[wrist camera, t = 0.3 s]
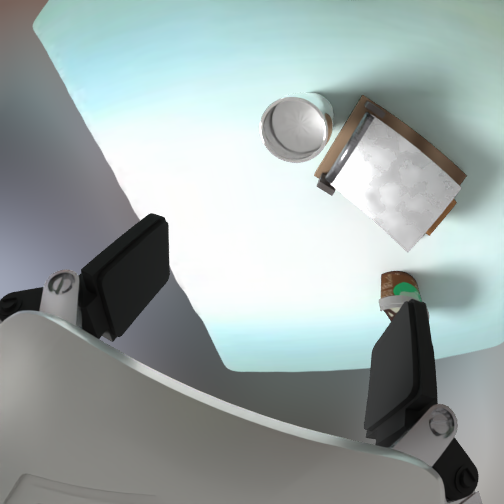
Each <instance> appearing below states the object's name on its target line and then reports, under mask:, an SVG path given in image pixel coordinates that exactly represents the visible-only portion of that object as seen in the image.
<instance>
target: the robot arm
mask: <svg viewBox="0 0 504 504" xmlns="http://www.w3.org/2000/svg"><path fill="white" fill-rule="evenodd" d="M81 272H82V273H81V274H80V275H79V276H78V275H77V273H75V272H74V271H71V270H61V271H57V272H55V273H53V274H52V275H51V276H49V277H48V279H47V280H46V282H45V284H44V287H41V288H35V289H29V290H23V291H18V292H12V293H9V294H7V295H6V296H4V297H3V298H2V299H1V300H0V504H482V501H481V498H480V494H479V491H478V492H475V488H476V486H477V483H478V471H477V468H476V467H475V465H474V464H473V462H472V461H471V459H470V458H469V457H468V455H467V454H466V453H465V451H464V450H463V448H462V447H461V446H460V444H459V443H458V442H457V440H456V439H455V438H454V436H455V434H456V432H457V427H458V424H457V419H456V416H455V414H454V412H453V411H452V410H451V409H450V408H449V407H448V406H446V405H443V404H438V403H437V383H436V370H435V359H434V350H433V345H432V341H431V333H430V326H429V320H428V313H427V307H426V304H425V303H424V302H421V301H418V300H415V299H411V300H409V302H408V301H405V302H404V303H403V305H402V306H401V308H400V309H399V311H398V312H397V314H396V315H395V317H394V318H393V320H392V321H391V323H390V324H389V326H388V327H387V329H386V330H385V332H384V333H383V334H382V336H381V337H380V339H379V340H378V341H377V343H376V344H375V346H374V348H373V350H372V357H371V370H370V381H369V391H368V400H367V407H366V415H365V422H364V429H365V430H367V434H366V438H371V439H376V444H375V445H373V444H368V443H362V442H358V441H354V440H349V439H345V438H340V437H337V436H332V435H328V434H324V433H320V432H316V431H313V430H309V429H305V428H301V427H298V426H295V425H291V424H288V423H285V422H282V421H278V420H275V419H272V418H269V417H266V416H263V415H260V414H258V413H255V412H252V411H249V410H246V409H243V408H241V407H238V406H235V405H233V404H230V403H228V402H225V401H223V400H220V399H218V398H215V397H213V396H210V395H208V394H205V393H203V392H201V391H199V390H196V389H194V388H192V387H190V386H187V385H185V384H183V383H181V382H179V381H176V380H174V379H172V378H170V377H168V376H166V375H164V374H162V373H160V372H158V371H156V370H154V369H152V368H150V367H148V366H146V365H144V364H142V363H140V362H138V361H137V360H135V359H133V358H131V357H129V356H127V355H125V354H124V353H122V352H120V351H118V350H117V349H115V348H113V347H111V346H110V345H108V344H106V343H104V342H103V341H101V340H99V338H100V337H101V336H103V337H105V338H107V339H108V340H110V341H112V342H113V341H114V340H115V338H116V337H120V336H122V335H123V334H124V332H125V331H126V330H127V329H128V327H129V326H130V325H131V324H132V323H133V321H134V320H135V319H136V318H137V316H138V315H139V314H140V313H141V312H142V311H143V309H144V308H145V307H146V306H147V305H148V303H149V302H150V301H151V300H152V299H153V298H154V296H155V295H156V294H157V293H158V292H159V290H160V289H161V288H162V287H163V286H164V285H165V284H166V282H167V281H168V279H169V275H170V273H169V272H170V271H169V234H168V222H166V220H165V218H164V217H162V216H159V215H156V214H153V213H150V214H149V215H147V216H146V217H145V218H143V219H142V220H141V221H140V222H138V223H137V224H136V225H134V226H133V227H132V228H131V229H129V230H128V231H127V232H126V233H124V234H123V235H122V236H121V237H119V238H118V239H117V240H115V241H114V242H113V243H112V244H111V245H110V246H108V247H107V248H106V249H105V250H104V251H102V252H101V253H100V254H99V255H97V256H96V257H95V258H94V259H93V260H92V261H90V262H89V263H88V264H87V265H86V266H85V267H83V268H82V269H81Z"/></svg>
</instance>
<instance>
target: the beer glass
mask: <svg viewBox="0 0 504 504" xmlns="http://www.w3.org/2000/svg"><path fill="white" fill-rule="evenodd" d="M333 117H334V112H333V108H332V105H331V104H330V102H329V101H328V100H327V99H326V98H325V97H323V96H322V95H320V94H317V93H292V94H288V95H286V96H283V97H281V98H280V99H278V100H276V101H275V102H273V103H272V104H270V105H269V106H268V107H267V109H266V110H265V111H264V113H263V115H262V117H261V121H260V135H261V138H262V141H263V143H264V145H265V146H266V148H267V149H268V150H269V151H270V152H271V153H272V154H273V155H274V156H276V157H277V158H279V159H281V160H284V161H287V162H292V163H300V162H305V161H308V160H311V159H313V158H314V157H316V156H317V155H318V154H319V153H320V152H321V151H322V150H323V148H324V147H325V146H326V144H327V143H328V141H329V139H330V137H331V134H332V130H333Z"/></svg>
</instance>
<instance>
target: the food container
mask: <svg viewBox="0 0 504 504" xmlns="http://www.w3.org/2000/svg"><path fill="white" fill-rule="evenodd" d="M411 299H415V300H418V301H421V302H422V300H421V297H420V293H419V290H418V286H417V283H416V281H415V279H414V278H413V277H412V276H411V275H409V274H407V273H405V272H401V271H391V272H387V273H384V274H381V299H379V306H380V311H382V310H383V311H384V312H385V313H386V314H387V316H388V317H389V319H390V321H392V320H393V318H394V317H395V315H396V314H397V312H398V311H399V309H400V308H401V306H402V305H403V303H404V302H405V301H408V302H409V300H411ZM427 313H428V320H429V312H428V310H427Z"/></svg>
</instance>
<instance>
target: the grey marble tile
mask: <svg viewBox="0 0 504 504" xmlns="http://www.w3.org/2000/svg"><path fill="white" fill-rule="evenodd" d="M325 180H326V181H327V182H329V183H330V184H331V185H332V186H334V187H335V188H336V189H337V190H338V191H340V192H341V193H342V194H343V195H344V196H346V197H347V198H348V199H349V200H350V201H352V202H353V203H354V204H355V205H356V206H357V207H359V208H360V209H361V210H362V211H363V212H364V213H365V214H367V215H368V216H369V217H370V218H371V219H372V220H373V221H374V222H376V223H377V224H378V225H379V226H380V227H381V228H382V229H383V230H384V231H385V232H387V233H388V234H389V235H390V236H391V237H392V238H393V239H394V240H395V241H396V242H397V243H398V244H399V245H400V246H401V247H402V248H403V249H404V250H405V251H407V252H409V251H410V250H411V249H412V247H413V246H414V245H415V244H416V243H417V242H418V241H419V240H420V238H421V237H422V236H423V235H424V234H425V233H426V232H427V230H428V229H429V228H430V227H431V226H432V224H433V223H434V222H435V221H436V220H437V219H438V217H439V216H440V215H441V214H442V212H443V211H444V210H445V209H446V207H447V206H448V205H449V204H450V202H451V201H452V200H453V199H454V197H455V196H456V195H457V194H458V192H459V191H460V190H461V187H460V186H459V185H458V184H457V183H456V182H455V181H454V180H453V179H452V178H451V177H450V176H449V175H448V174H447V173H446V172H444V171H443V170H442V169H441V168H440V167H439V166H438V165H437V164H436V163H434V162H433V161H432V160H431V159H430V158H429V157H427V156H426V155H425V154H424V153H423V152H421V151H420V150H419V149H418V148H417V147H415V146H414V145H413V144H412V143H410V142H409V141H408V140H406V139H405V138H404V137H403V136H401V135H400V134H399V133H397V132H396V131H395V130H393V129H392V128H391V127H389V126H388V125H386V124H385V123H384V122H382V121H381V120H379V119H378V118H377V117H375V116H374V115H372V114H370V113H368V112H366V113H365V114H364V116H363V118H362V119H361V121H360V122H359V124H358V126H357V127H356V129H355V131H354V132H353V134H352V135H351V137H350V139H349V140H348V142H347V143H346V145H345V147H344V148H343V150H342V151H341V153H340V155H339V156H338V158H337V159H336V161H335V162H334V164H333V166H332V167H331V169H330V170H329V172H328V173H327V175H326V177H325Z"/></svg>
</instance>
